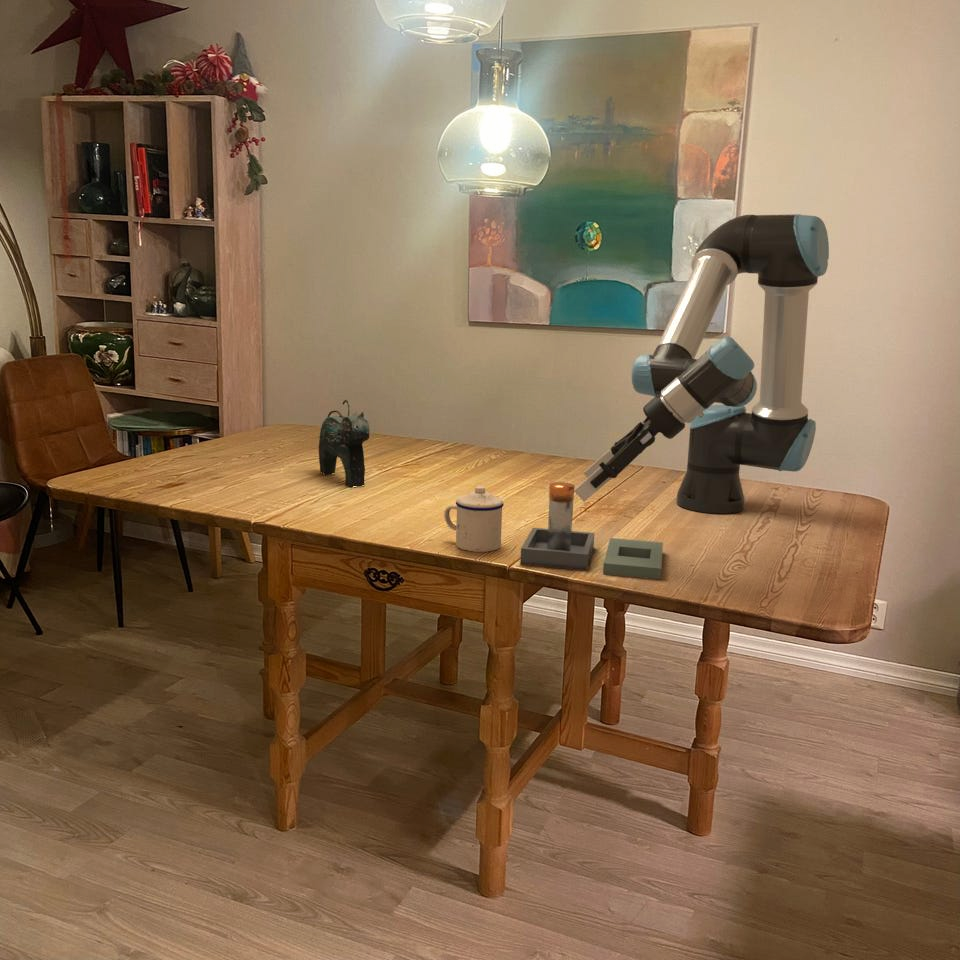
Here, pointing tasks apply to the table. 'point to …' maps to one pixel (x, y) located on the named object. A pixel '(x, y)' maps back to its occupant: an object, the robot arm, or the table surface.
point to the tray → (557, 551)
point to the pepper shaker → (560, 516)
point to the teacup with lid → (477, 521)
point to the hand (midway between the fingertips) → (583, 486)
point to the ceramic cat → (344, 445)
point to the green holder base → (633, 558)
